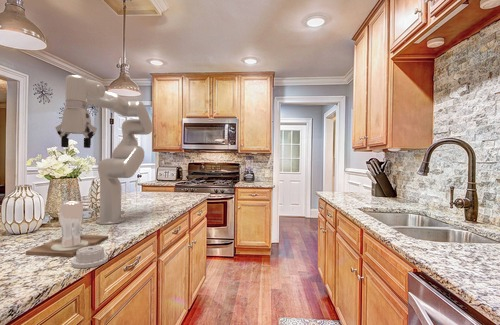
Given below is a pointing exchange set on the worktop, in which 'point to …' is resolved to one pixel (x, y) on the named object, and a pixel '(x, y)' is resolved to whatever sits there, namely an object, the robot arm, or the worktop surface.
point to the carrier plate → (56, 249)
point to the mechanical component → (89, 257)
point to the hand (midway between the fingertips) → (76, 147)
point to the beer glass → (71, 222)
